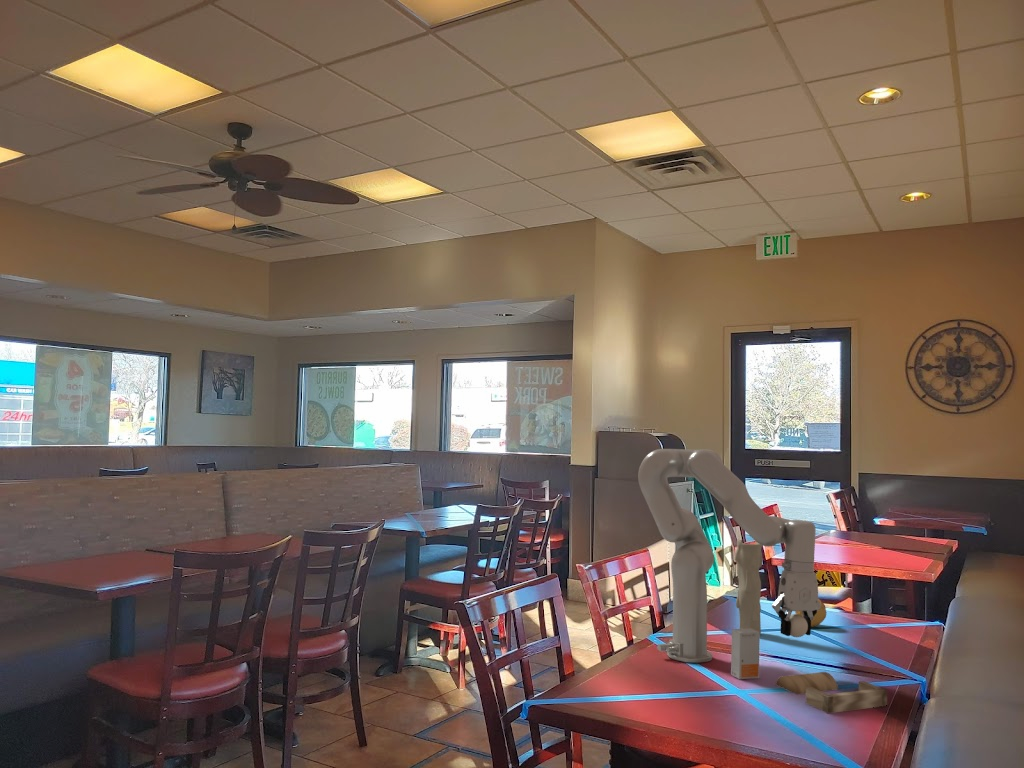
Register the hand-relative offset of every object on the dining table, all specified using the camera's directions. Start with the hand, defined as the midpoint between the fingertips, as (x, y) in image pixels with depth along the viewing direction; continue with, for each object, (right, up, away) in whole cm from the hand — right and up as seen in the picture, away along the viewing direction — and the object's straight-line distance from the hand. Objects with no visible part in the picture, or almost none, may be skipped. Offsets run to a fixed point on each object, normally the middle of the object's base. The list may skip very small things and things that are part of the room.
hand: (795, 633), depth 209 cm
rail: (+3, -9, -24) cm, 26 cm away
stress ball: (+24, -15, +53) cm, 60 cm away
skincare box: (-15, -10, -5) cm, 19 cm away
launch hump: (-2, -15, -13) cm, 19 cm away
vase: (0, -13, +41) cm, 43 cm away
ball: (0, +2, 0) cm, 2 cm away
